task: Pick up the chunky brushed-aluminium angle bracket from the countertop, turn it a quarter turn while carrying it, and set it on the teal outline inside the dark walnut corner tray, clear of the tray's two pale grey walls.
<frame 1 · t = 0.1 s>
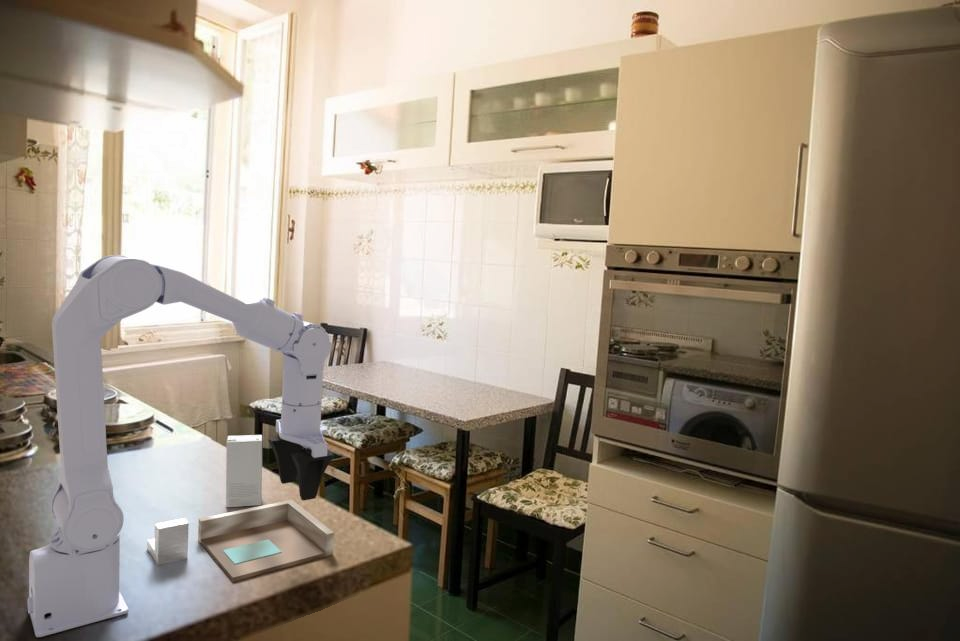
hand: (297, 490, 97), 10 cm above the counter, fingers open, 7 cm apart
aluminium bracket: (167, 554, 95), on the counter
corner arena: (262, 549, 98), on the counter
skincare box: (243, 504, 115), on the counter
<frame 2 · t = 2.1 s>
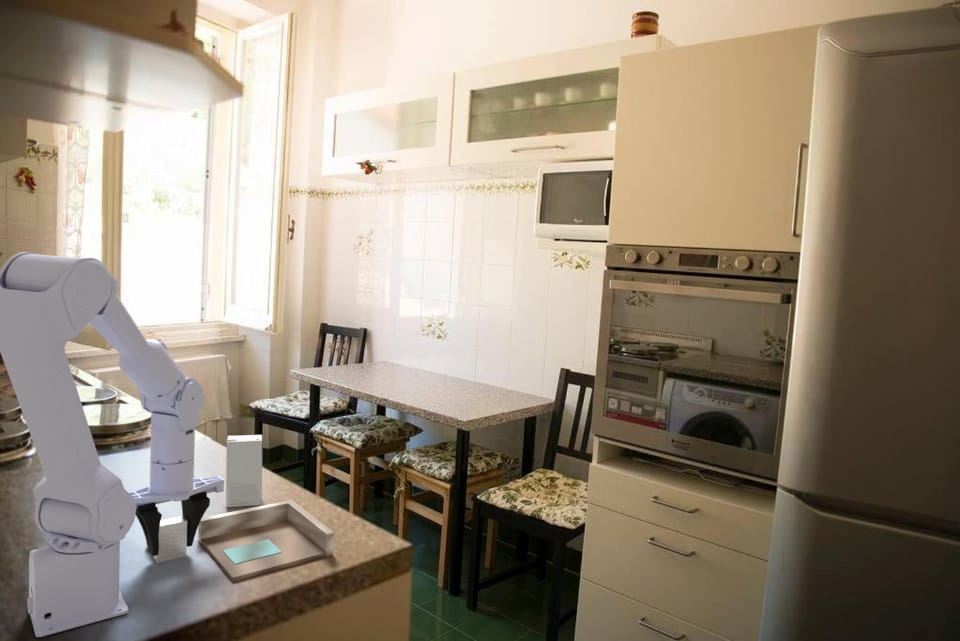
hand: (170, 548, 94), 1 cm above the counter, fingers closed on aluminium bracket, 4 cm apart
aluminium bracket: (166, 551, 95), on the counter, touching gripper
everything else where it was.
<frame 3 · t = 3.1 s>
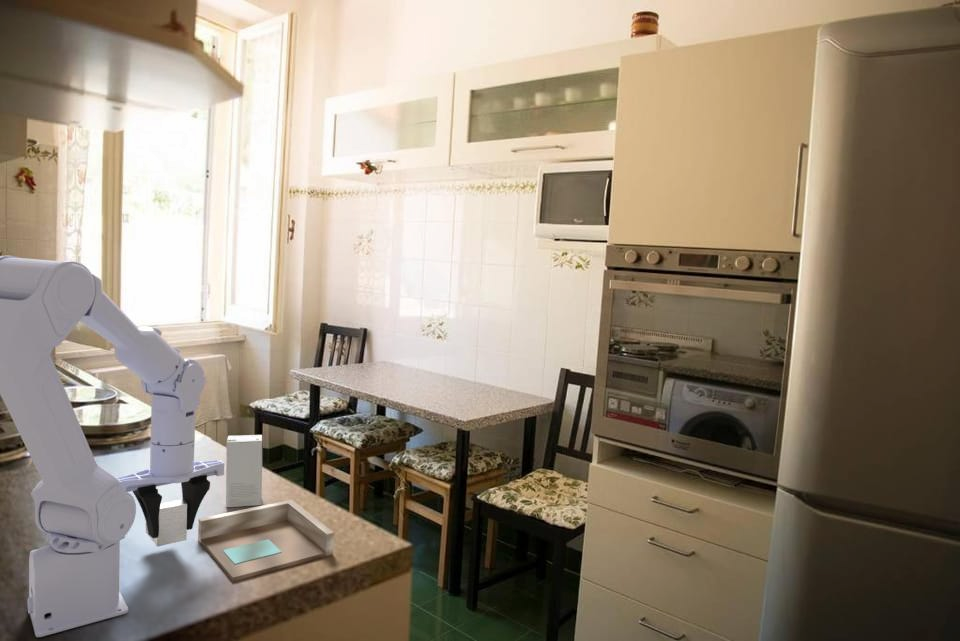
hand: (170, 531, 93), 4 cm above the counter, fingers closed on aluminium bracket, 4 cm apart
aluminium bracket: (165, 535, 95), point 2 cm above the counter, touching gripper
everything else where it was.
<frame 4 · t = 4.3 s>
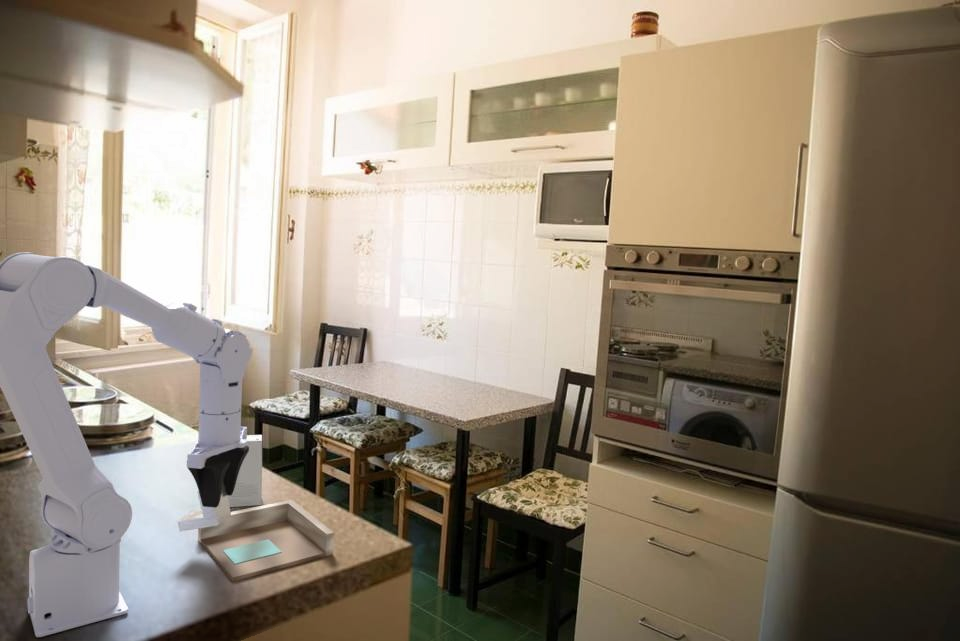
hand: (218, 500, 95), 8 cm above the counter, fingers closed on aluminium bracket, 4 cm apart
aluminium bracket: (205, 522, 95), point 5 cm above the counter, tilted 15°, touching gripper
everything else where it was.
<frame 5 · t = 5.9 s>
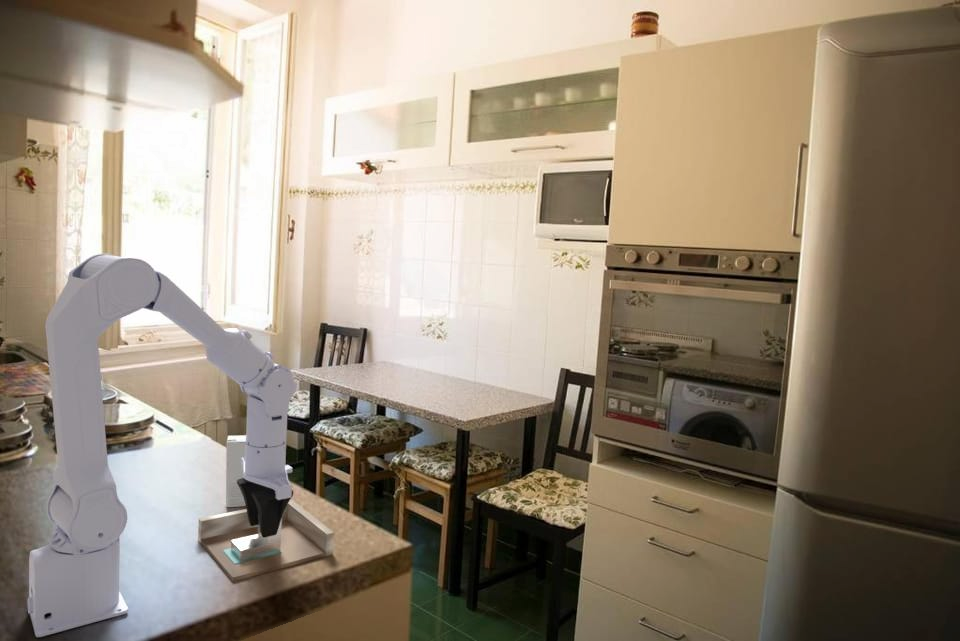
hand: (263, 529, 97), 4 cm above the counter, fingers closed on aluminium bracket, 4 cm apart
aluminium bracket: (255, 550, 96), point 1 cm above the counter, touching corner arena, gripper
everything else where it was.
when the fingers open (3 cm above the counter, at t = 6.5 s): aluminium bracket stays where it is, resting on corner arena.
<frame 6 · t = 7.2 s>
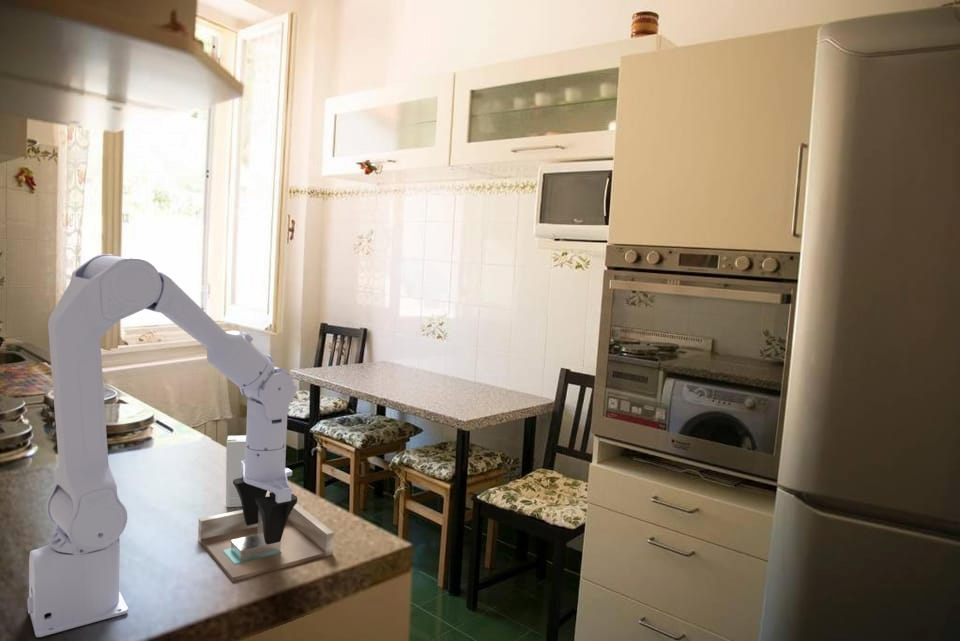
hand: (262, 532, 97), 3 cm above the counter, fingers open, 7 cm apart
aluminium bracket: (255, 550, 96), point 1 cm above the counter, touching corner arena
everything else where it was.
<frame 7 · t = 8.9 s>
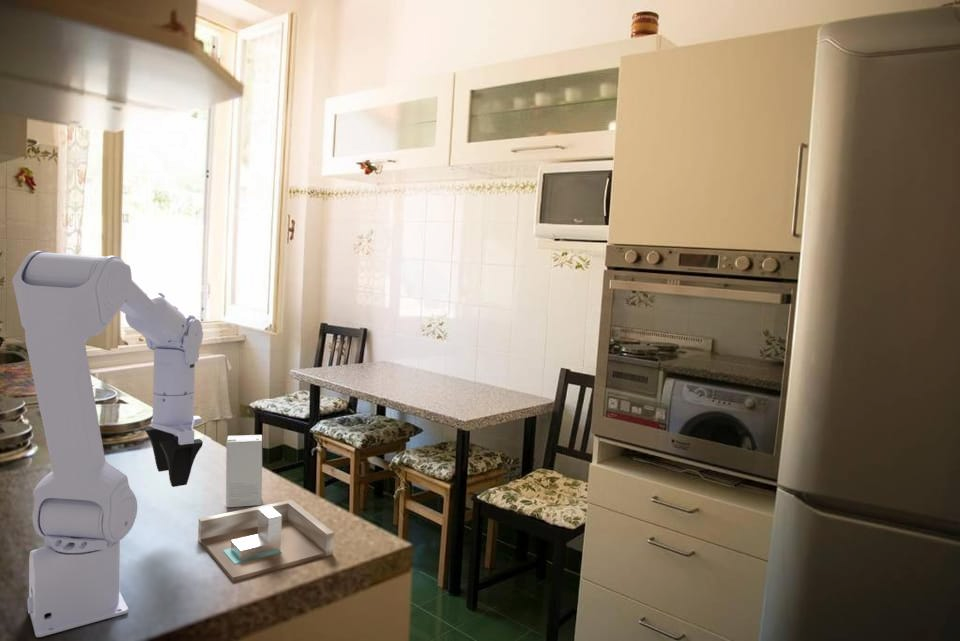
hand: (172, 477, 100), 9 cm above the counter, fingers open, 7 cm apart
nothing on the counter moved.
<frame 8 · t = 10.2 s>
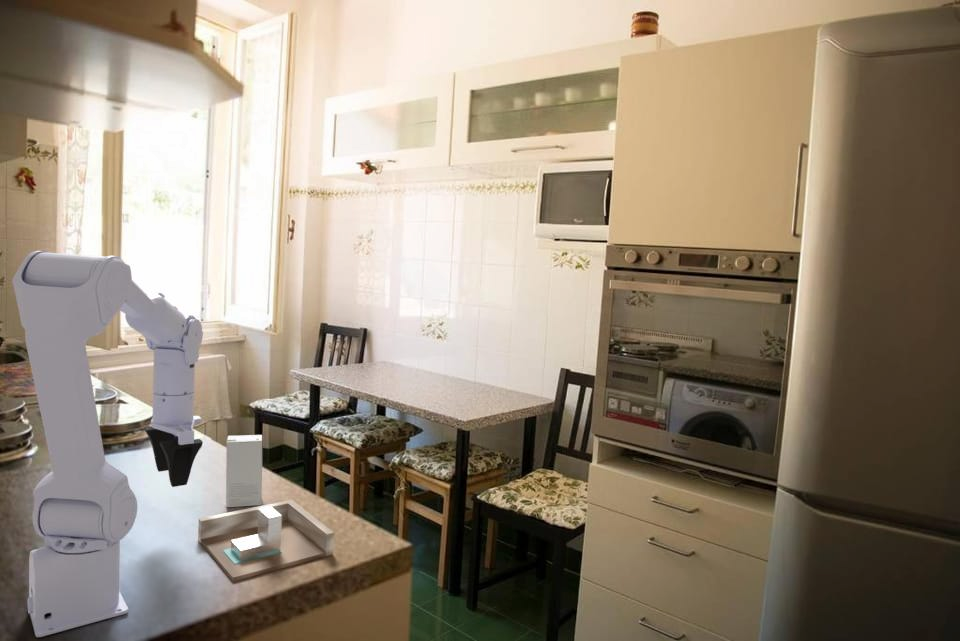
hand: (171, 477, 100), 9 cm above the counter, fingers open, 7 cm apart
nothing on the counter moved.
at the end: aluminium bracket 0.0 cm from the target spot, point 0.7 cm above the counter; aluminium bracket tilted 0°; the gripper is holding nothing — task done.
